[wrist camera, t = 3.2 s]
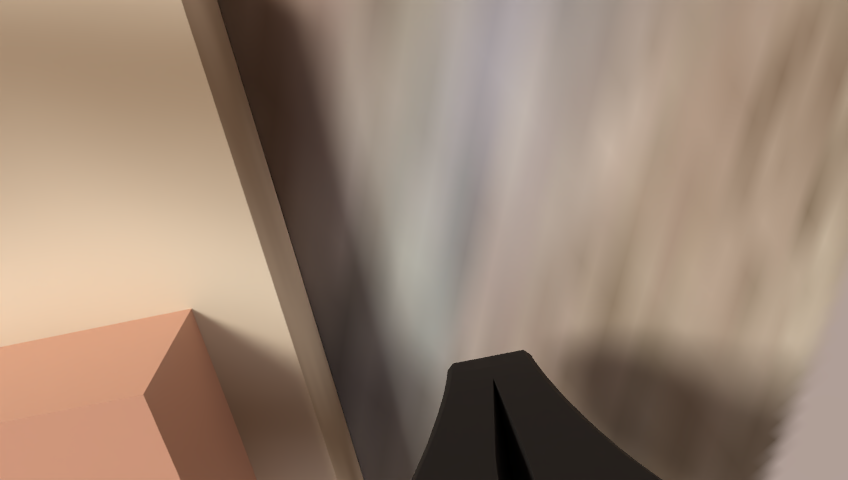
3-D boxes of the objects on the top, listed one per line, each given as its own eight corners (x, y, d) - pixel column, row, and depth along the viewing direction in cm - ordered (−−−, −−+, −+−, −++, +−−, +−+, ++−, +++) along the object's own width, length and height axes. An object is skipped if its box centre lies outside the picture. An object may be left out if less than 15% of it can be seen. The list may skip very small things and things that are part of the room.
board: (404, 614, 18) (405, 691, 16) (-42, 693, 19) (-90, 776, 17) (201, -51, 12) (165, -50, 10) (-462, 99, 12) (-612, 127, 10)
